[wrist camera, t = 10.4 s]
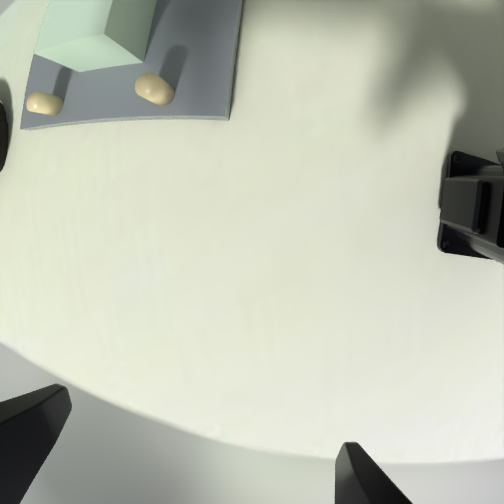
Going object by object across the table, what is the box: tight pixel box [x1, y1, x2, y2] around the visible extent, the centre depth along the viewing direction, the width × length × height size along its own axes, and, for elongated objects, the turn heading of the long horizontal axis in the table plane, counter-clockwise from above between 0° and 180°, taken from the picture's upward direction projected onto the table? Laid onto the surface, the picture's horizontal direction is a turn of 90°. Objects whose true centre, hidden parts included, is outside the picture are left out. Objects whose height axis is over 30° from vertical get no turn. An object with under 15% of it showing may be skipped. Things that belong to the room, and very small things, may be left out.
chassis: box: [20, 0, 243, 130], centre depth 15 cm, size 16×14×4 cm
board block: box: [34, 0, 157, 72], centre depth 13 cm, size 5×7×5 cm
